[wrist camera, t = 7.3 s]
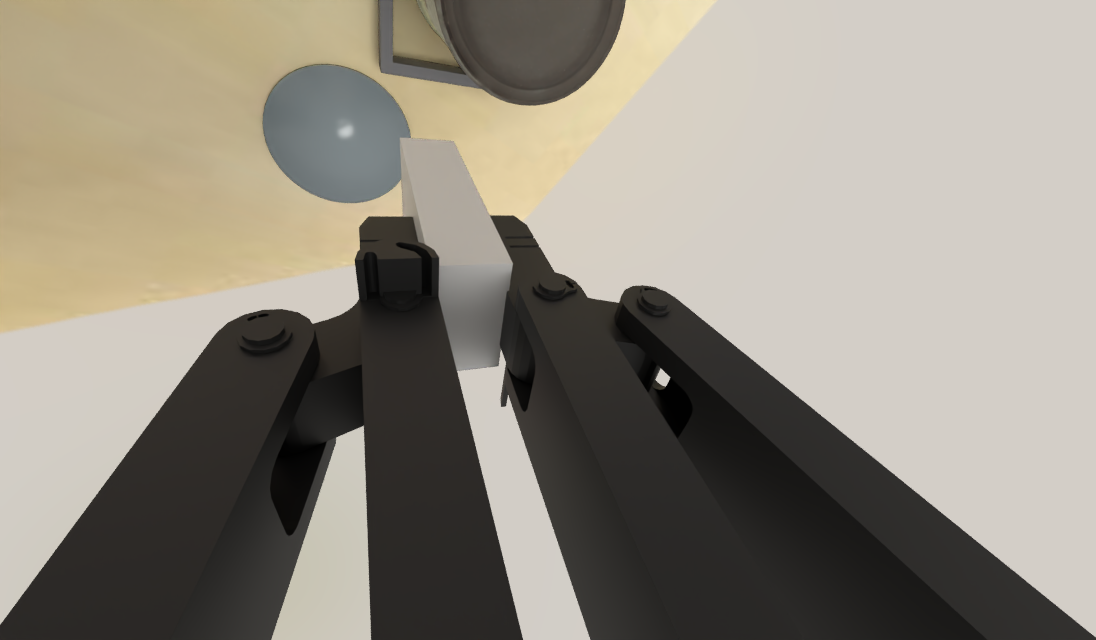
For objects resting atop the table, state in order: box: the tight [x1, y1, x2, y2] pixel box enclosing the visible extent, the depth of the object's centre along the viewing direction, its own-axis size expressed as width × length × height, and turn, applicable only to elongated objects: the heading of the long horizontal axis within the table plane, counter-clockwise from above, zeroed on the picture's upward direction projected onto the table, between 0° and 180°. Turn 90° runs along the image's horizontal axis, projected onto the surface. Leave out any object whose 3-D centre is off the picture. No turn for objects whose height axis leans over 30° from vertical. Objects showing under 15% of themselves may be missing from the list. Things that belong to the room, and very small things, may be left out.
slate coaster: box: [263, 64, 411, 203], centre depth 36 cm, size 11×11×1 cm
